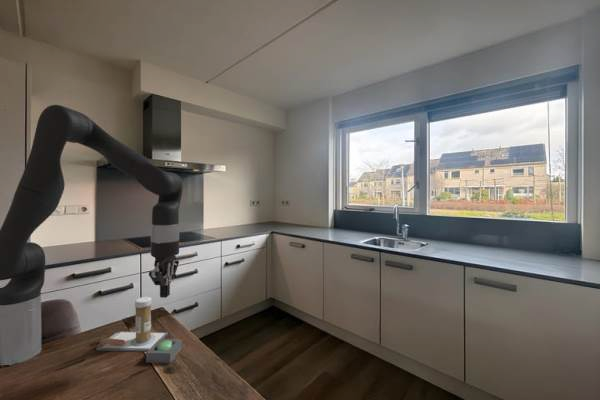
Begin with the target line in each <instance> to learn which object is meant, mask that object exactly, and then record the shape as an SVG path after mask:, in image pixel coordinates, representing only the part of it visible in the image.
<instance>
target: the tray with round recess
mask: <svg viewBox="0 0 600 400" xmlns="http://www.w3.org/2000/svg"><path fill="white" fill-rule="evenodd" d="M168 334H169V332H167V331H166V332H165V331H164V332H163V331H151V339H150V340H148V341H146V342H144V343H137V342H136V341H135V340H136V331H127V330H126V331H124V330H123V331H122V330H121V331H120V330H119V331H118V332H115V333H113V334H112V335H111V336H110V337H109V338H110V339H120V340H124V341H125V343H124V345H122V346H120V345H110V344H101V345H99V346H98V347H97V348H95V349H96V351H108V352H109V351H113V352H145V353H146V352H147V351H148V350H149V349H150V348H151V347H152V346H153V345H154V344H155V343H156V342H157V341H158V340H159V339H165V338H166V337H167V335H168Z"/></svg>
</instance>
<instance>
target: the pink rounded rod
mask: <svg viewBox="0 0 600 400" xmlns="http://www.w3.org/2000/svg"><path fill="white" fill-rule="evenodd" d="M124 343H125V341H124V340H120V339H110V337H103V338H101V341H100V344H101V345H102V344H110V345H120V346H122V345H124Z"/></svg>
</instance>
